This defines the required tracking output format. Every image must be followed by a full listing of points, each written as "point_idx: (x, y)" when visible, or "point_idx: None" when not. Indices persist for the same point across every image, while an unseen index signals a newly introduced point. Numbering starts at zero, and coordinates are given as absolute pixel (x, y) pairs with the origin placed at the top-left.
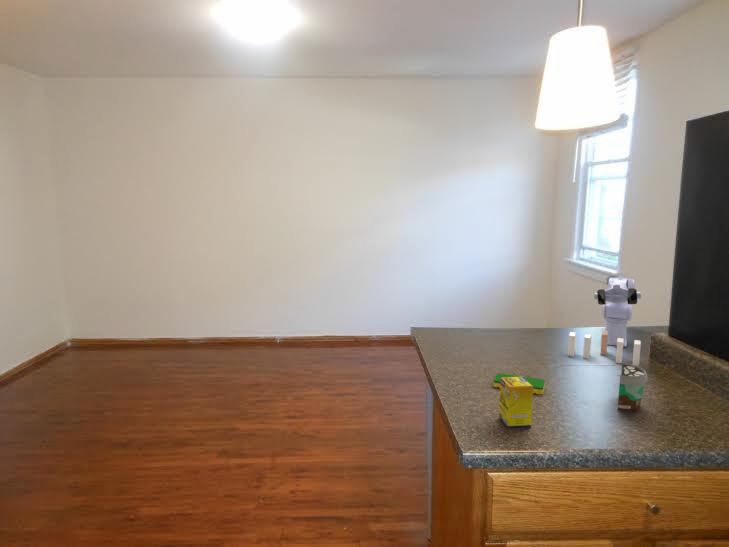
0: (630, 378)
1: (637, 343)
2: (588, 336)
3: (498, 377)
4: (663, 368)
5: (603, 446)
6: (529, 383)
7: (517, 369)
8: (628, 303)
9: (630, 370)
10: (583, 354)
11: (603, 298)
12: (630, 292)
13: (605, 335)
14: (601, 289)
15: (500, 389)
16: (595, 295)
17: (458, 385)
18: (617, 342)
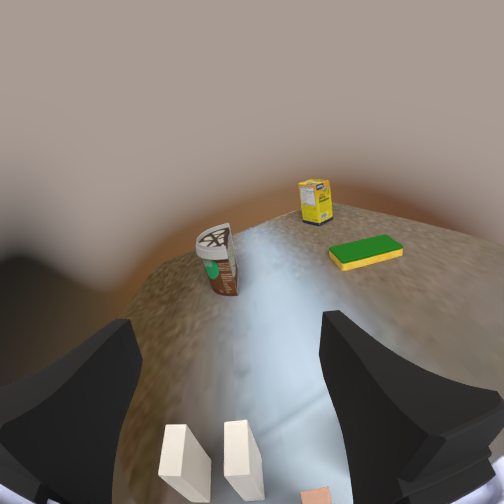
0: (217, 228)
1: (175, 432)
2: None
3: (389, 239)
4: (132, 470)
5: (245, 231)
6: (303, 184)
7: (414, 286)
8: (136, 357)
9: (215, 244)
10: None
11: (328, 311)
12: (42, 383)
13: (310, 491)
14: (476, 417)
15: (329, 191)
16: (502, 460)
17: (411, 229)
18: (246, 422)
